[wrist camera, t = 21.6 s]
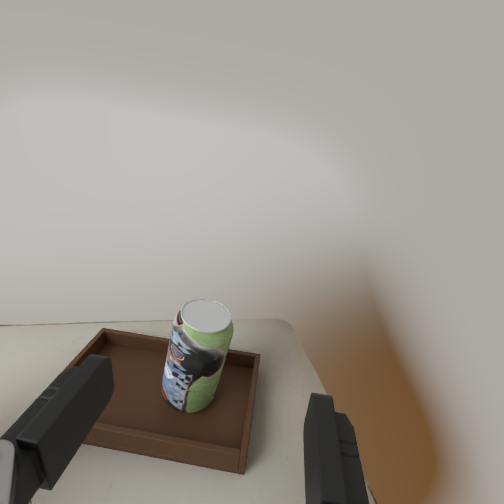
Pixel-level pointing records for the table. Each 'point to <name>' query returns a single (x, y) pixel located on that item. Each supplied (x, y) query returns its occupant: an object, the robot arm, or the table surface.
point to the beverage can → (196, 355)
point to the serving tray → (162, 415)
